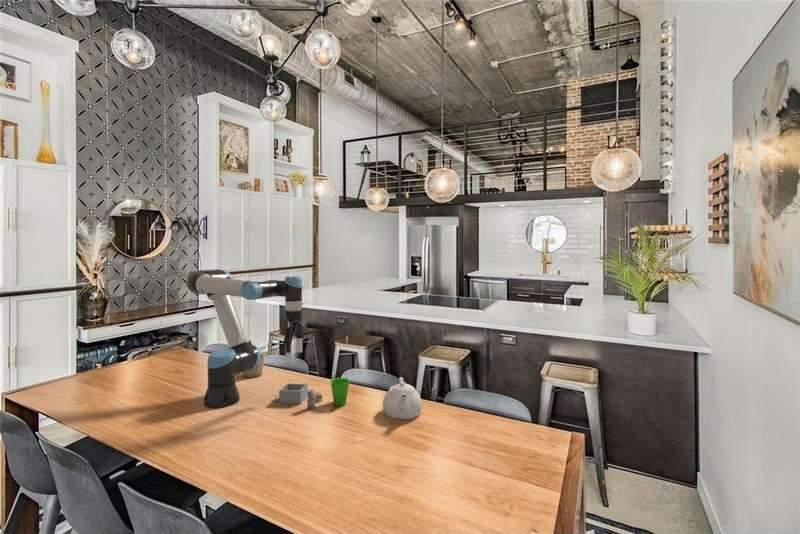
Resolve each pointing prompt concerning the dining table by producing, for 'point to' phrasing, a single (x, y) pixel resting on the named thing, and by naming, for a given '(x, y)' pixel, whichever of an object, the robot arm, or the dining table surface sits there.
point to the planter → (255, 370)
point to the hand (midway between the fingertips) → (294, 355)
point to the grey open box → (293, 393)
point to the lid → (311, 399)
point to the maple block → (318, 396)
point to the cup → (339, 390)
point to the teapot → (402, 401)
